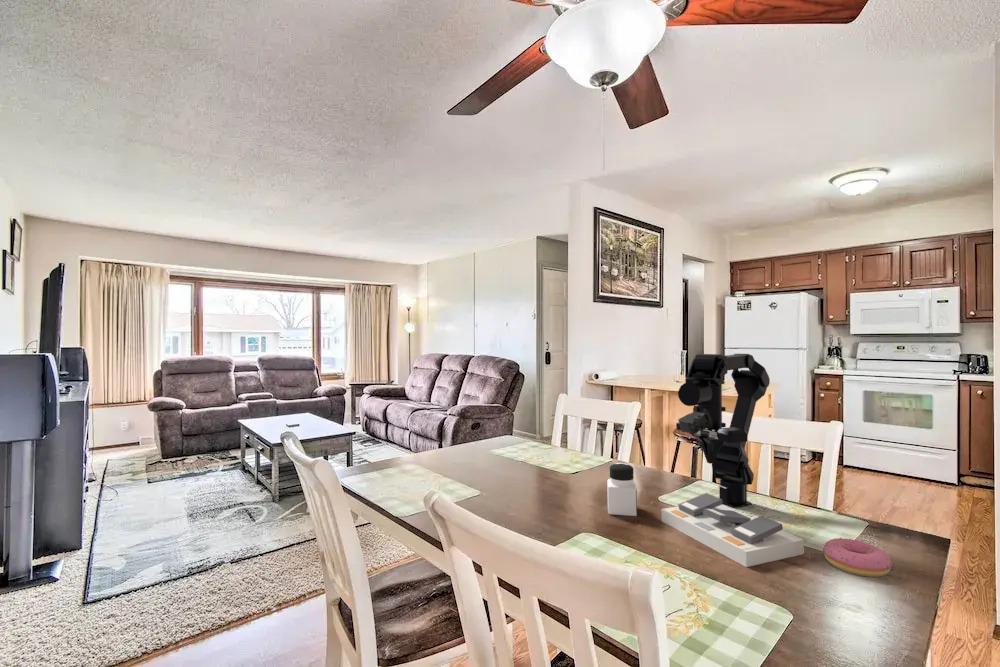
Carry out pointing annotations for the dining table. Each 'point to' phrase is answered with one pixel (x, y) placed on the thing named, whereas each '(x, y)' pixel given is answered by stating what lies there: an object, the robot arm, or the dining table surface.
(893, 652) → the dining table surface
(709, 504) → the block
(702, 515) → the switch unit
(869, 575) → the doughnut
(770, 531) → the rocker
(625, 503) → the medicine bottle
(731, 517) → the rocker middle
